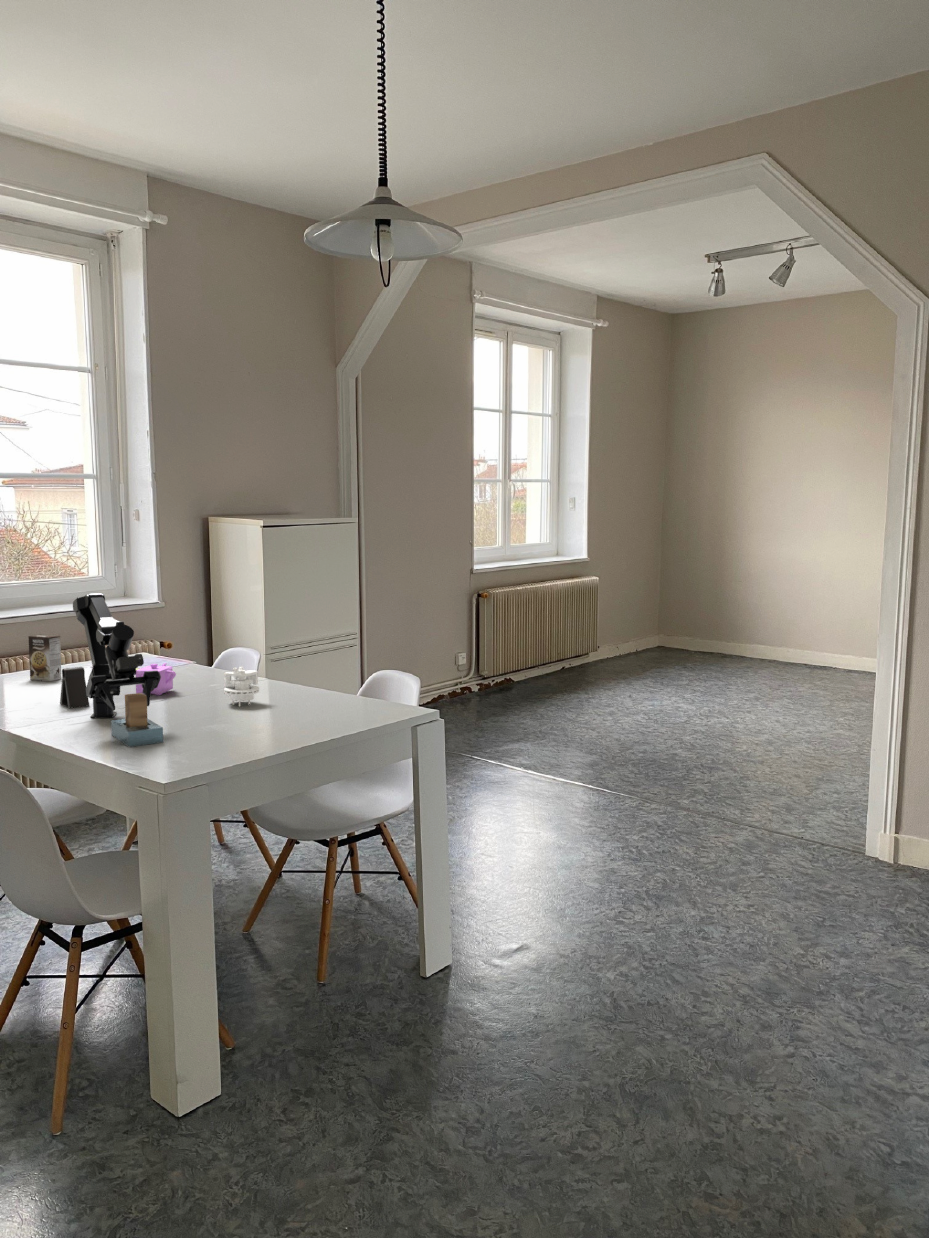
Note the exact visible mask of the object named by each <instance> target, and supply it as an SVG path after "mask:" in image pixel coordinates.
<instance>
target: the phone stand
mask: <svg viewBox="0 0 929 1238" xmlns="http://www.w3.org/2000/svg"><path fill="white" fill-rule="evenodd" d="M61 677H62V678H61V686H60V698H59V699H60V700H59V704H60V705H61V706H63V707H65V708H68V709H71V710H72V709H76V708H77V709H78V708H85V707H90V700H89V697H87V695H86V687H87V683H86V676H85V668H84V666H76V667H75V666H74V667H66V668H61Z"/></svg>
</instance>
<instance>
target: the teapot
mask: <svg viewBox="0 0 929 1238" xmlns="http://www.w3.org/2000/svg"><path fill="white" fill-rule="evenodd" d="M155 670H157V671H158V672H159V673H160V676H161V679H160V681H159V684H158V687H157V688H155V689H154V690H153V691H151V695H155V696H162V694H165V693H168V692H169V691H170V690H173V689H174V679H175V677H176V676H177V673H176V671H173V665H171V666H169V665H167V662H164V663H162V665H159V664H158V663H150V665H147V666H143V667H141V668H138V669H136V674H134V676H135V677H143V675H144V672H145V671H155ZM136 693H143V688H142V684H138V685H135V694H136Z"/></svg>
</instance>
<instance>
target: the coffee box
mask: <svg viewBox="0 0 929 1238" xmlns="http://www.w3.org/2000/svg"><path fill="white" fill-rule="evenodd" d="M61 645H62V644H61V635H54V634H53V635H52V634H41V633H40V634H33V635H29V636H28V653H29V654H28V656H29V657H28V658H29V660H28V661H29V679H30V680H31V681H41V680H42V681H43V682H53V681H56V680H57V681H58V680H62V654H61V653H62V651H61V650H62V649H61Z"/></svg>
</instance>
